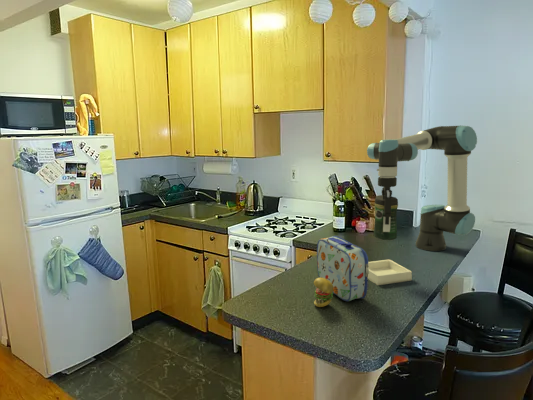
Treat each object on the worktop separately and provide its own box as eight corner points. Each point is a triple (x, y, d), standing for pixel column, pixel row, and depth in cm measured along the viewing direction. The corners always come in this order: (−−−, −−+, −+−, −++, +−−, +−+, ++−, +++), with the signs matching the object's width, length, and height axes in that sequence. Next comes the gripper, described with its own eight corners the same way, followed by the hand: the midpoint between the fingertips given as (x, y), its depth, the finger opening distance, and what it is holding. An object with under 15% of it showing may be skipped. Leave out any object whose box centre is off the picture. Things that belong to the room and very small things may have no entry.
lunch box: (374, 303, 141) (376, 246, 137) (350, 308, 137) (351, 250, 133) (334, 277, 166) (335, 229, 162) (313, 281, 162) (313, 231, 158)
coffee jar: (400, 239, 161) (401, 196, 158) (384, 242, 158) (386, 198, 155) (385, 234, 170) (386, 193, 167) (370, 236, 167) (371, 194, 164)
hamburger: (313, 300, 144) (313, 270, 142) (332, 301, 143) (332, 271, 141) (313, 310, 137) (313, 278, 134) (333, 310, 136) (334, 279, 134)
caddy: (389, 267, 177) (389, 259, 176) (411, 280, 162) (411, 271, 161) (357, 271, 173) (357, 263, 172) (377, 285, 157) (377, 276, 157)
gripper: (376, 173, 171) (374, 222, 175) (379, 180, 150) (378, 235, 154) (394, 173, 169) (392, 222, 173) (399, 180, 148) (397, 235, 152)
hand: (385, 228), depth 163 cm, fingers closed on coffee jar, 9 cm apart
